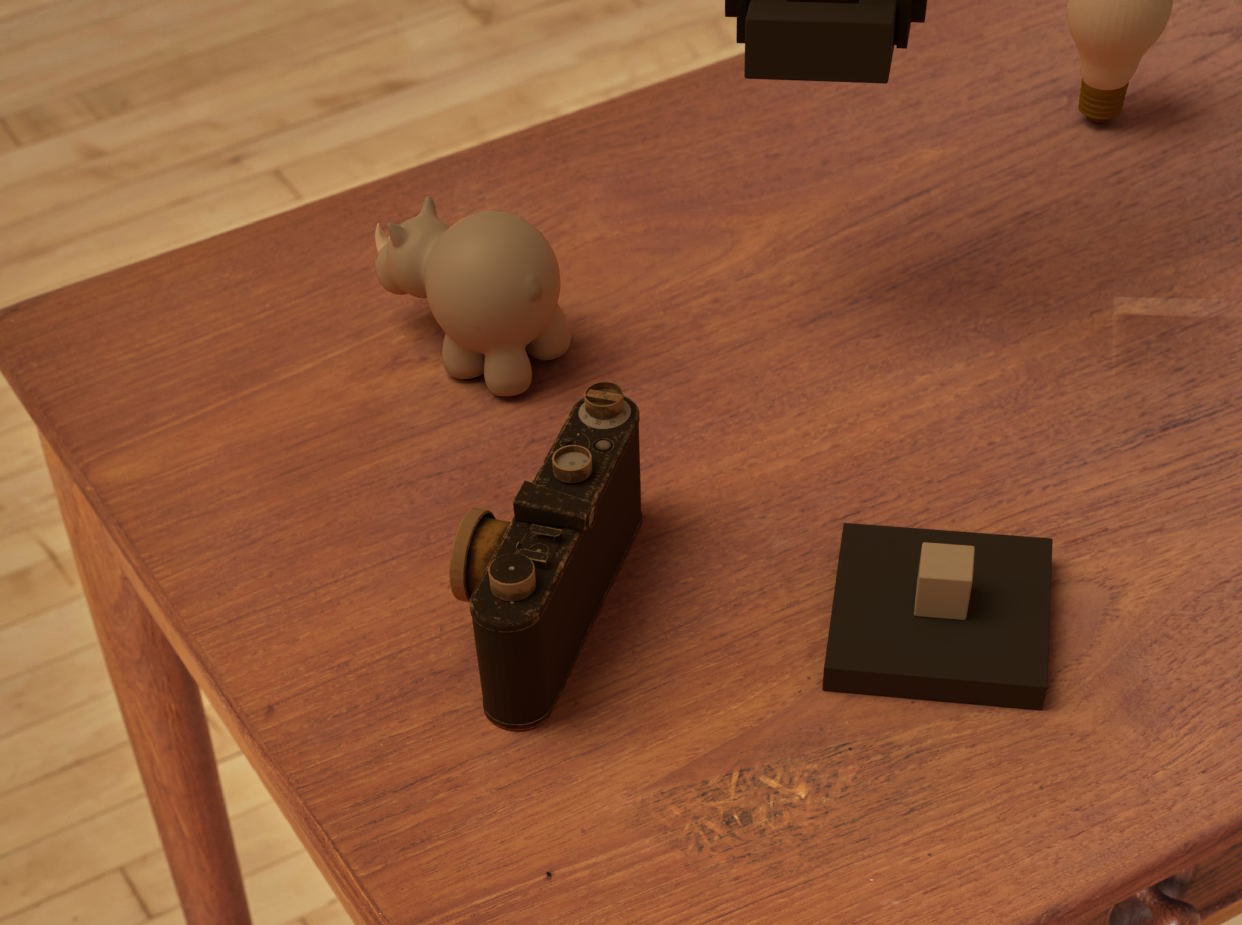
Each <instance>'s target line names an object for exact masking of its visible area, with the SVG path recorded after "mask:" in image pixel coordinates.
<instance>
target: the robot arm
mask: <svg viewBox="0 0 1242 925" xmlns="http://www.w3.org/2000/svg"><path fill="white" fill-rule="evenodd" d="M749 4H750V0H724V17H725V18H736V31H735V32H736V33H735V34H736V35H735V36H736V37H735V38H736V40H735V41H736V42H735V43H736V44H744V45H745V19H746V15H747V11H748V8H749ZM927 8H928V0H896V15H895V27H894V39H893V45H894V46H896V49H903V50H904V49H905V50H906V49H908V45H909V39H910V31H911V26H912V23H913V24H914V23H918V24H925V22H926V17H927Z"/></svg>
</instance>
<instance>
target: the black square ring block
mask: <svg viewBox="0 0 1242 925" xmlns="http://www.w3.org/2000/svg"><path fill="white" fill-rule="evenodd" d="M895 15H896V0H750V4H749V8H748V11H747V15H746V19H745V44H744V69H743V71H744V73H743V75H744V79H746V80H768V81H769V80H770V81H772V80H774V81H796V82H797V81H799V82H828V83H829V82H830V83H856V84H857V83H858V84H881V85H882V84H885V85H886V84H888V83H889V79H890V74H891V67H892V62H893V57H894V51H895V45H893V39H894V27H895Z"/></svg>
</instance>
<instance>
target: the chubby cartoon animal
mask: <svg viewBox="0 0 1242 925" xmlns="http://www.w3.org/2000/svg"><path fill="white" fill-rule="evenodd" d="M435 204H436V203H435V202H434V199H433V197H432V196H431V195H429V194H428V195H427V196H425V198H424V200H423V203H422V206H421V210H420V212H419V213H418V214H417V215H416V216H413V217H411V218H409V219H407V220H404V221H403V222H402V223H400V224H398V223H395V222H392V221H389V222H388V223H387V225H386V227H387V232H388V236H387V235H386V233H385V232H384V230H383V228H382V226H381V223H379V222H377V224H376V229H375V233H374V241H375V242H374V243H375V247H376V252H377V254H376V255H377V258H376V259H375V261H374V265H373V266H374V269H375V274H376V278H377V280H378V282H379V283H380V285H381V286H382V288H384V289H385V290H386V291H388V292H389V293H391V294H393V295H397V296H398V295H399V296H403V295H410V296H412V297H415V298H418V299H427V303H428V306H429V309H430V311H431V313H432V315H433V317H434V319H435V321H436V322H437V324H438V325H439V327H440V328H441V330H443V331H444V333H445V335H444V339H443V342H442V348H441V360H442V364H443V368H444V369H445V371H446V373H447V374H448V375H449V376H451V377H452V378H455V379H460V380H469V379H475V378H478V377H480V376H482V375H483V376H484V381H485V385H486V387H487V389H488V391H489V392H490V393H492V394H493V395H495V396H497V397H513V396H514V397H515V396H518V395H521V394H523V393H525V392H526V391H527V390H529V388H530V386H531V384H532V381H533V380H532V379H533V371H532V370H533V369H532V365H531V361H530V359H529V355H530V356H531V358H534V359H536V360H537V361H538V360H539V361H550V360H551V361H552V360H554V359H557V358H560V357H562V356H563V355H565V354H566V353H567V352H568V350H569V348H570V345H571V330H570V329H571V328H570V325H569V321H568V319H567V316H566V314H565V313H564V311H563V309H562V308H561V306H560V305H559V299H560V294H561V272H560V266H559V263H558V259H557V256H556V254H555V250H554V249H553V247H552V246H551V244H550V243H549V240H548V239H547V238H546V236H545V235H544V233H542V232H541V231H540V230H539V229H538V228H537V227H536V226H535V225H534V224H532V222H529V221H528V220H527V219H525V218H523V217H522V216H519V215H516V214H514V213H511V212H507V211H501V210H484V211H483V210H482V211H478V212H474V213H471V214H469V215H465V216H464V217H462V218H460V219H459V220H457V221H456V222H454V223H453V224H452V225H450V226H449V225H448V224H447V223H445V222H444V221H442V220H441V219H440V218H439V217H438V214H437V209H436V205H435ZM528 354H529V355H528Z"/></svg>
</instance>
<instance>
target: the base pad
mask: <svg viewBox="0 0 1242 925" xmlns="http://www.w3.org/2000/svg"><path fill="white" fill-rule="evenodd" d="M1053 543H1054V542H1053V538H1052V537H1040V536H1039V537H1038V536H1027V535H1026V536H1025V535H1014V534H1013V535H1012V534H999V533H985V532H974V531H973V532H972V531H960V530H959V531H958V530H947V529H933V528H932V529H930V528H919V527H905V526H894V525H881V524H880V525H879V524H868V523H867V524H865V523H852V522H844V523H843V525H842V531H841V539H840V546H839V554H838V559H837V560H838V561H837V569H836V577H835V584H834V589H833V598H832V604H831V613H830V620H829V627H828V628H829V629H828V635H827V643H826V651H825V658H824V663H823V664H824V665H823V675H822V677H823V678H822V688H821V689H822V690H823V691H826V692H827V691H828V692H840V693H849V694H850V693H851V694H862V695H871V696H872V695H873V696H884V697H894V698H895V697H896V698H904V699H905V698H907V699H917V700H928V701H939V702H950V703H960V704H970V705H971V704H972V705H982V706H983V705H984V706H995V707H1005V708H1006V707H1007V708H1017V709H1029V710H1039V711H1041V710H1043V709H1044V705H1045V701H1046V700H1045V699H1046V696H1047V691H1048V684H1049V683H1048V682H1049V656H1050V655H1049V654H1050V653H1049V652H1050V627H1051V626H1050V624H1051V623H1050V622H1051V595H1052V569H1053V568H1052V567H1053Z"/></svg>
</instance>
